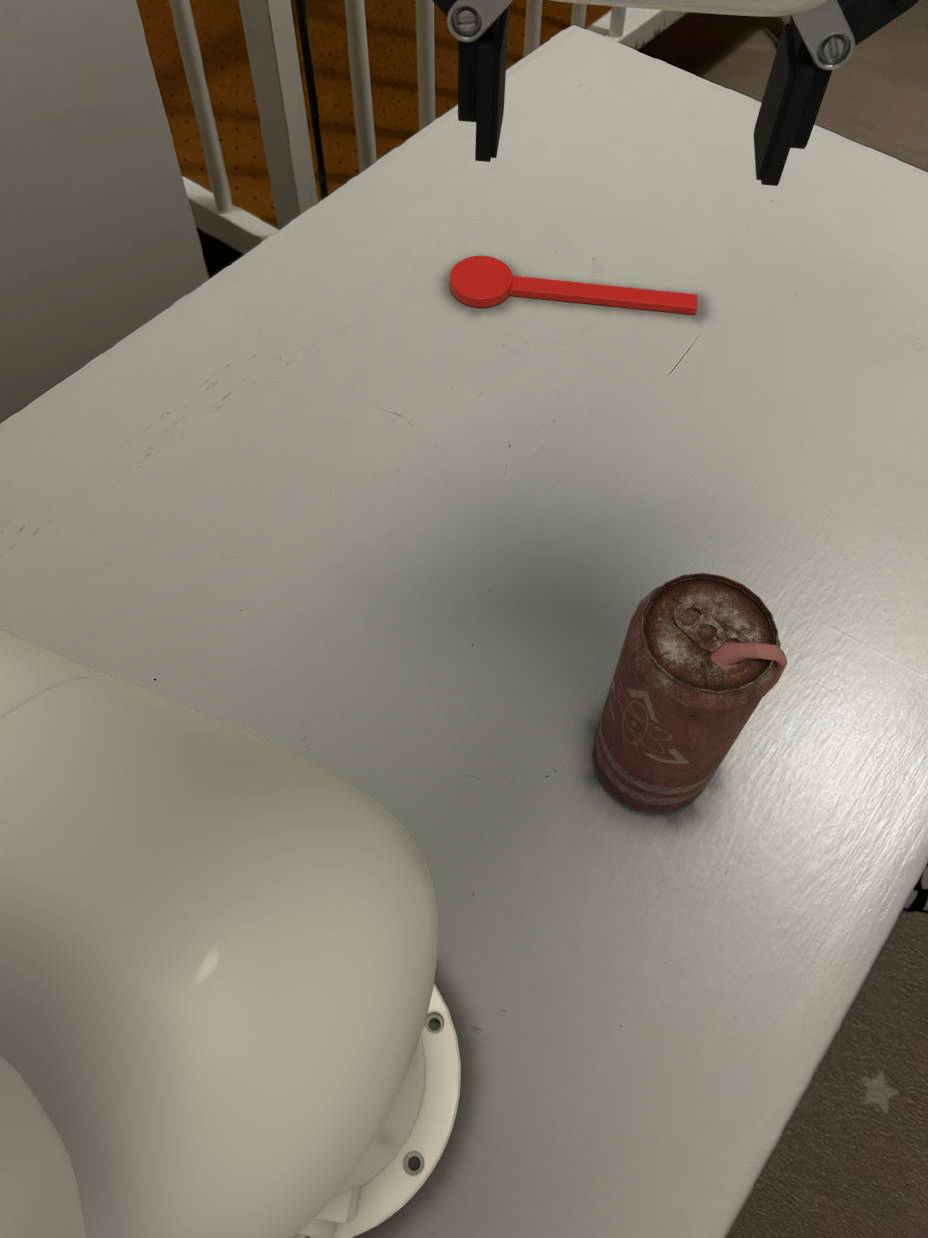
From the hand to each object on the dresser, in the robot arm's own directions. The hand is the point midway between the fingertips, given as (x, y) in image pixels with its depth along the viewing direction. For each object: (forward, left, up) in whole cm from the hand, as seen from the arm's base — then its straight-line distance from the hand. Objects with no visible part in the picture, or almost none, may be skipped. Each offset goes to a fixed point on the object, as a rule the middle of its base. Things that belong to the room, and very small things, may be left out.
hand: (626, 149), depth 34 cm
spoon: (+22, +2, -26) cm, 34 cm away
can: (-12, -6, -26) cm, 29 cm away
